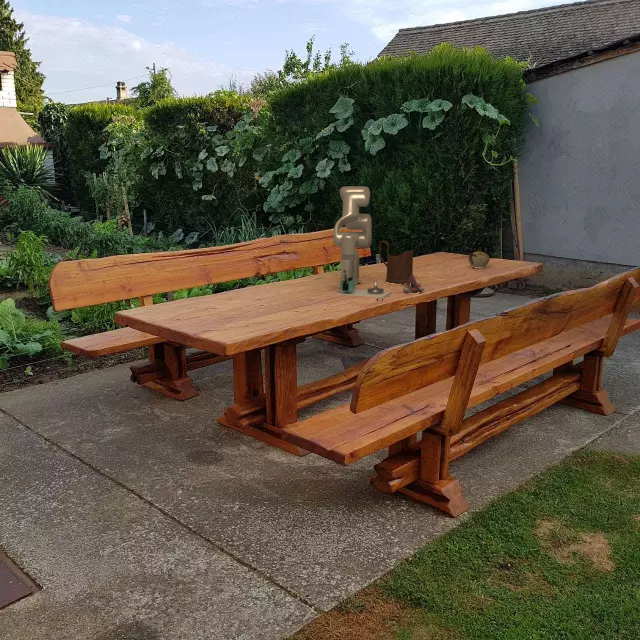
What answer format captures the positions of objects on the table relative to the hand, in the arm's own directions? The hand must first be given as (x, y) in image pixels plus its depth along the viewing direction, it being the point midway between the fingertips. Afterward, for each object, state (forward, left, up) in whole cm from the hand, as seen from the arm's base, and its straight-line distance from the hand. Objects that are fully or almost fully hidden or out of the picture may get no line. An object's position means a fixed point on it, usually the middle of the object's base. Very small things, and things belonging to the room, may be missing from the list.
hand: (347, 288), depth 374 cm
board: (-4, +8, -4) cm, 10 cm away
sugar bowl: (-136, +50, -4) cm, 145 cm away
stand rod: (0, 0, -2) cm, 2 cm away
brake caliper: (-22, +32, -4) cm, 39 cm away
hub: (-7, +14, -2) cm, 16 cm away
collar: (0, 0, -1) cm, 1 cm away
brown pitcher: (-55, +12, -4) cm, 56 cm away
